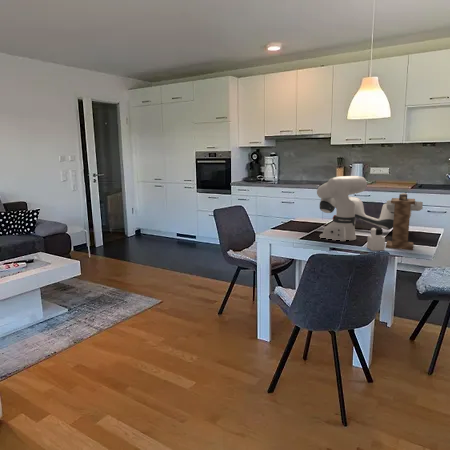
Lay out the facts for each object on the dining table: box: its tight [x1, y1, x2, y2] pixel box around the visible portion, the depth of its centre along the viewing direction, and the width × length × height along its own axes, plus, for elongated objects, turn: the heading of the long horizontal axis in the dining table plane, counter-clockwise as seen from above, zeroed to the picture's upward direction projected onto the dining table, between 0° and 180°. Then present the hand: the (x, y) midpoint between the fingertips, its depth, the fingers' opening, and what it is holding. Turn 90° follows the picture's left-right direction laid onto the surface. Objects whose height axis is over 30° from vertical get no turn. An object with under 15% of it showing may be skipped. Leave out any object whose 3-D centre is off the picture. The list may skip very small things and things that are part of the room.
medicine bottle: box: [366, 227, 386, 252], centre depth 215 cm, size 7×7×12 cm
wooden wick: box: [398, 192, 408, 200], centre depth 220 cm, size 4×16×3 cm, turn 154°
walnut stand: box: [385, 197, 416, 251], centre depth 218 cm, size 14×12×27 cm
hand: (404, 200), depth 231 cm, fingers open, 8 cm apart
